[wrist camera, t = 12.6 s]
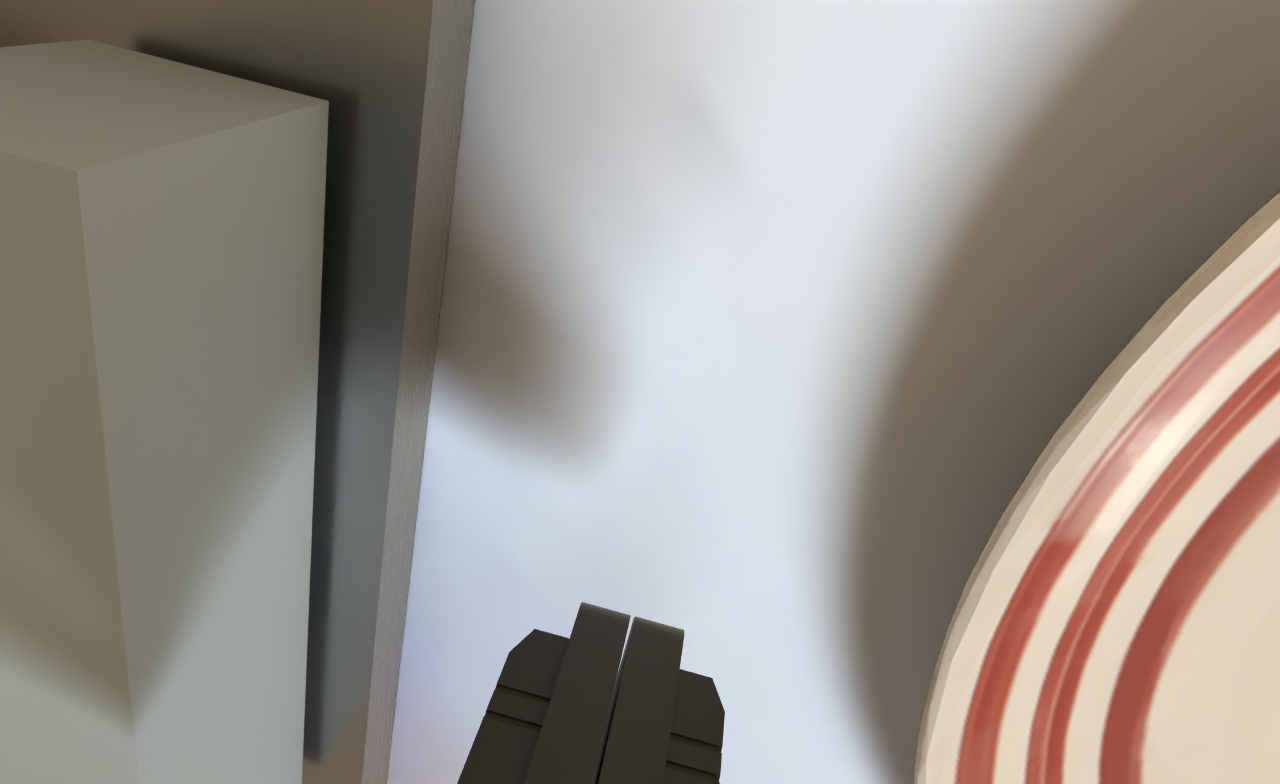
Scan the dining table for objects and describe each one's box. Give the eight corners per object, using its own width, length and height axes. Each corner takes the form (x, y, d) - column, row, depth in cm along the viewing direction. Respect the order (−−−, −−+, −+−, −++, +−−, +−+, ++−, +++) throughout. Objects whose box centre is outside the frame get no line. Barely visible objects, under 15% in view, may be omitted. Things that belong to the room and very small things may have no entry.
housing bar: (329, 100, 10) (76, 171, 6) (300, 799, 16) (164, 1035, 12) (88, 38, 10) (-293, 74, 6) (152, 756, 16) (-27, 978, 12)
